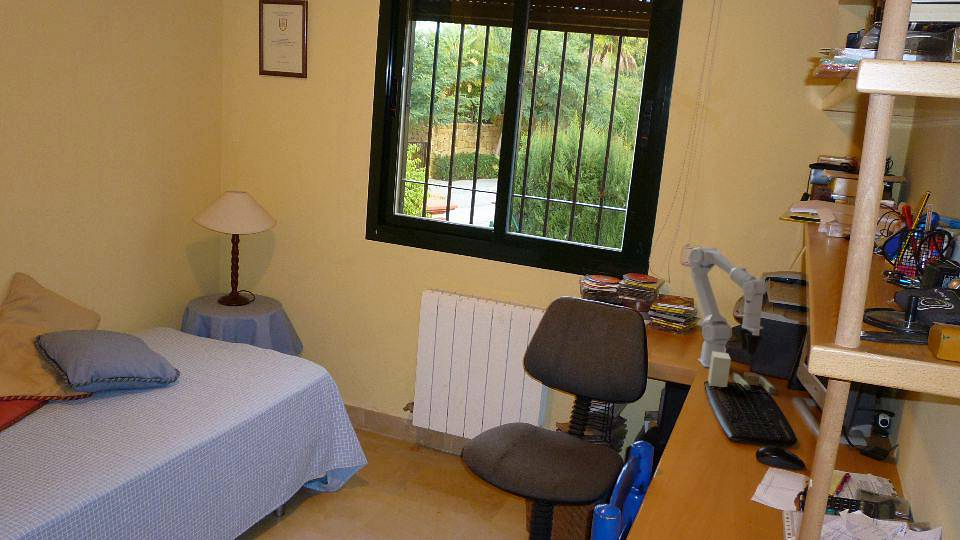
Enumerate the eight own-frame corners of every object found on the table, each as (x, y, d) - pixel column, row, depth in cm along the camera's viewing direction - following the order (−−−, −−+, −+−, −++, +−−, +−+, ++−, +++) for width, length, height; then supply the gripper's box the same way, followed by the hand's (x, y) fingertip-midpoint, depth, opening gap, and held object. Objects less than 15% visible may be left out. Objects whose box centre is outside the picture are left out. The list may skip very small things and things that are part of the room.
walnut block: (742, 381, 277) (744, 372, 276) (754, 382, 277) (755, 373, 276) (746, 385, 273) (747, 375, 272) (758, 386, 273) (759, 376, 272)
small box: (726, 389, 265) (731, 359, 264) (709, 387, 266) (713, 356, 265) (724, 382, 273) (728, 353, 271) (707, 380, 274) (712, 350, 272)
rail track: (731, 377, 280) (732, 372, 279) (760, 380, 280) (760, 375, 279) (745, 391, 265) (746, 386, 265) (775, 394, 265) (776, 388, 265)
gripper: (769, 317, 270) (765, 357, 272) (758, 310, 285) (754, 348, 286) (748, 316, 271) (744, 355, 272) (738, 309, 285) (734, 346, 287)
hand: (748, 351), depth 279 cm, fingers open, 7 cm apart
